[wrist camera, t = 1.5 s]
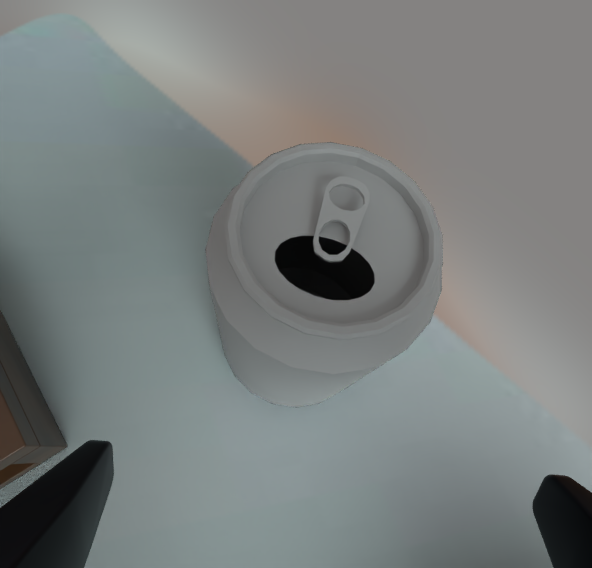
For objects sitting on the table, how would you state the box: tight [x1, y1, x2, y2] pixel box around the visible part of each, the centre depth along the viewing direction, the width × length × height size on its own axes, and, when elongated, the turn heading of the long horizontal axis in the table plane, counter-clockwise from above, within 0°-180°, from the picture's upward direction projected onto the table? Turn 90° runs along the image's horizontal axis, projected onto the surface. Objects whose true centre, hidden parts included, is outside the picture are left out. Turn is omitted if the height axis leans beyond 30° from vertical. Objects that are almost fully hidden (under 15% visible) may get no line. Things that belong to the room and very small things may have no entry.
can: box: [205, 142, 443, 407], centre depth 17 cm, size 8×8×12 cm
